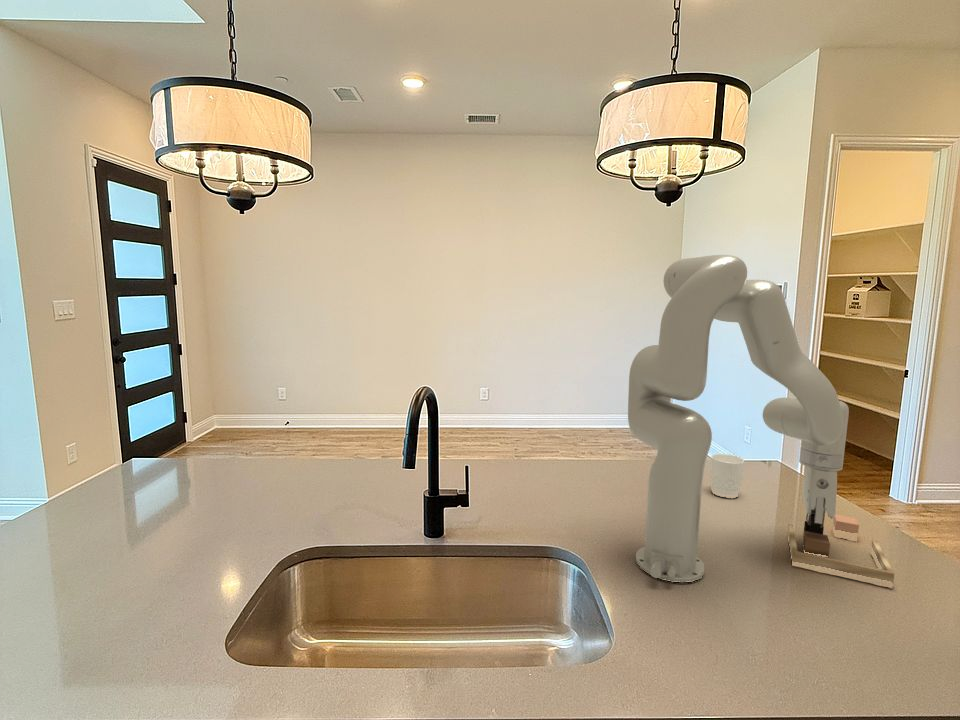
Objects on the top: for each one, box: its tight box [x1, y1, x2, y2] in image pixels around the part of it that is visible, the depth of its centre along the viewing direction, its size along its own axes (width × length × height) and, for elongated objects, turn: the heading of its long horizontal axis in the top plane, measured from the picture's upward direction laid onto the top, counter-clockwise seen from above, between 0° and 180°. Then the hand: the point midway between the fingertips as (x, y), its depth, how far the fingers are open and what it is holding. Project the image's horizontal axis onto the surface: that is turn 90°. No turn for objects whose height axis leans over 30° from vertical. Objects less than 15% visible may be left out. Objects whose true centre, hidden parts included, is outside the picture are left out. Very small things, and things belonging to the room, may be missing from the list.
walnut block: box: [802, 530, 831, 556], centre depth 102 cm, size 4×4×4 cm
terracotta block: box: [832, 513, 860, 534], centre depth 111 cm, size 4×4×4 cm
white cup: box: [710, 453, 745, 495], centre depth 134 cm, size 8×8×10 cm
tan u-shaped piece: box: [787, 523, 895, 583], centre depth 101 cm, size 14×16×3 cm
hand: (812, 541), depth 106 cm, fingers closed
